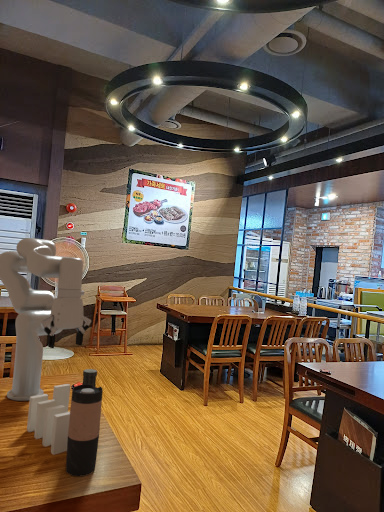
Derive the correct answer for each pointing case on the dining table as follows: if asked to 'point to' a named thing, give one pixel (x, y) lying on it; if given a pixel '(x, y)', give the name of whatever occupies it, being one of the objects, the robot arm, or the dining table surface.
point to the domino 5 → (60, 433)
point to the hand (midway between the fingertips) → (65, 346)
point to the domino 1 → (34, 410)
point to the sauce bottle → (89, 377)
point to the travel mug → (83, 429)
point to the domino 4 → (50, 423)
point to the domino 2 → (42, 416)
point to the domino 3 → (62, 395)
